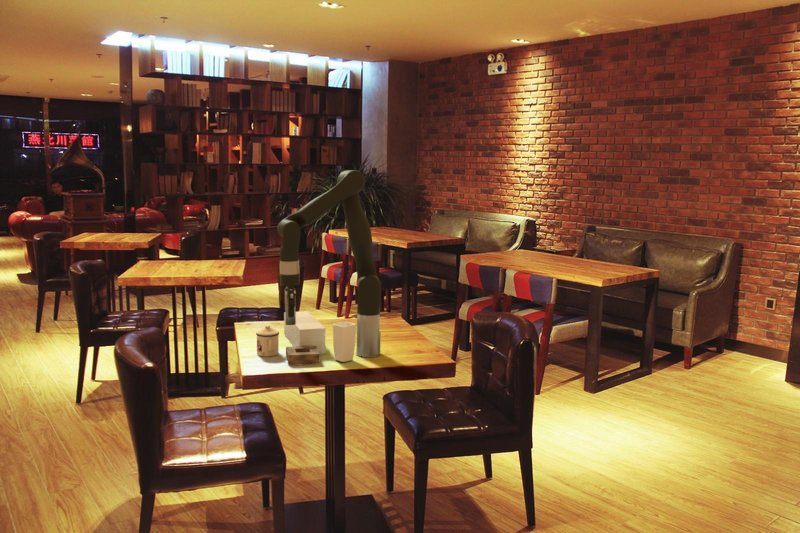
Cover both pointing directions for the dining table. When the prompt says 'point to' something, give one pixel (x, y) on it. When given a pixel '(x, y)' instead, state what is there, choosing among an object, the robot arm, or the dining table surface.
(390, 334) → the dining table surface
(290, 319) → the metal pin
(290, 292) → the robot arm
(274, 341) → the teacup with lid
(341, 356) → the cup
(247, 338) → the dining table surface
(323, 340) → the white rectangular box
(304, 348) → the socket block
